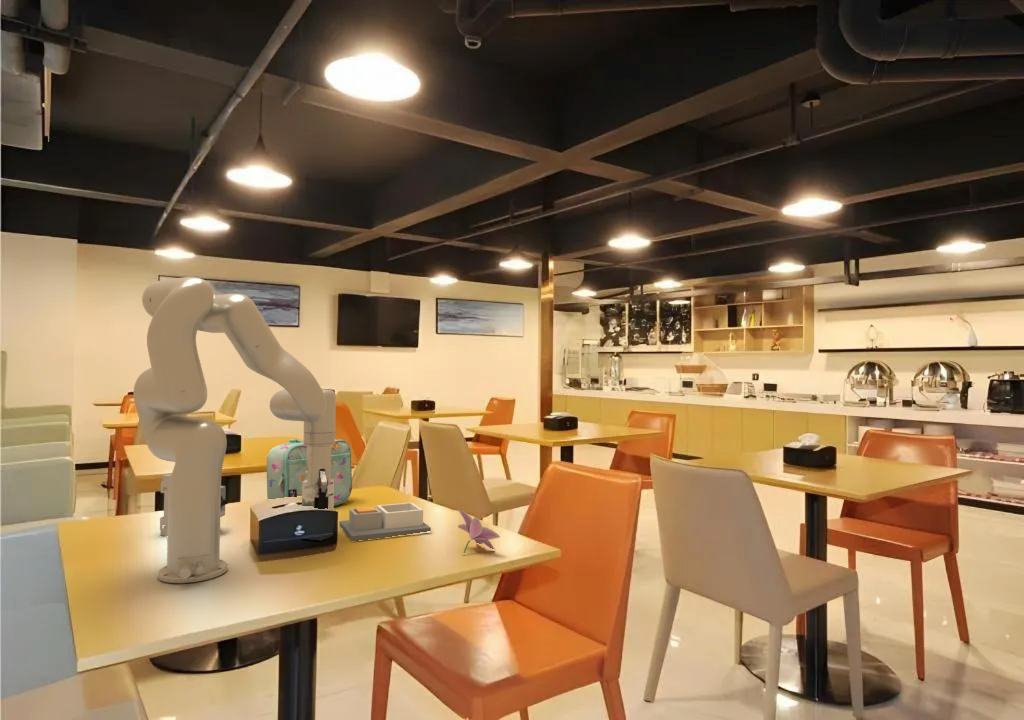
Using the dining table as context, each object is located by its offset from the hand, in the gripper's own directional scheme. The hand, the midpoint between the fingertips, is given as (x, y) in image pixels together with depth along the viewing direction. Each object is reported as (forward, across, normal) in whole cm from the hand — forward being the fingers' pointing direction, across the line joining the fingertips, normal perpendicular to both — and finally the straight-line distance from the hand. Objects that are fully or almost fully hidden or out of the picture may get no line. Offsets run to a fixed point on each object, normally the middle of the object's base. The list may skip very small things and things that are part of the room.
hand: (318, 509), depth 153 cm
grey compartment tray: (+7, -1, +17) cm, 18 cm away
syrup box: (+7, 0, 0) cm, 7 cm away
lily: (+7, +26, +32) cm, 42 cm away
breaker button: (+5, -1, +12) cm, 13 cm away
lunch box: (+7, -33, +3) cm, 34 cm away
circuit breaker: (+7, -17, -27) cm, 33 cm away
